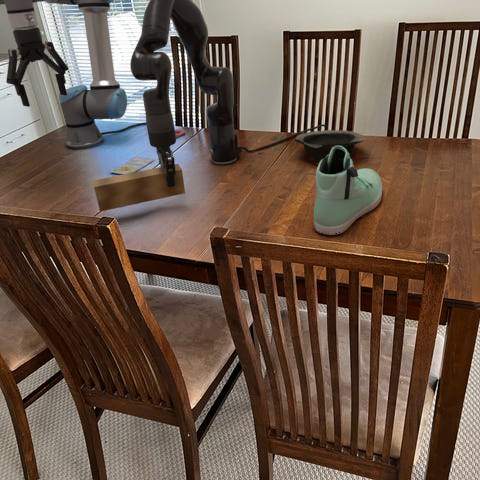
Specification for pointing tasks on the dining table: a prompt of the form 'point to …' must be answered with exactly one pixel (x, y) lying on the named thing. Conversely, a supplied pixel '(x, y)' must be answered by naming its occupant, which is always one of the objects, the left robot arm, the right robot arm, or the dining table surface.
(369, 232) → the dining table surface
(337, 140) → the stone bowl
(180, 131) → the candy cane
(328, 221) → the sneaker
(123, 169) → the baking ingredient package
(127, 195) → the bar
